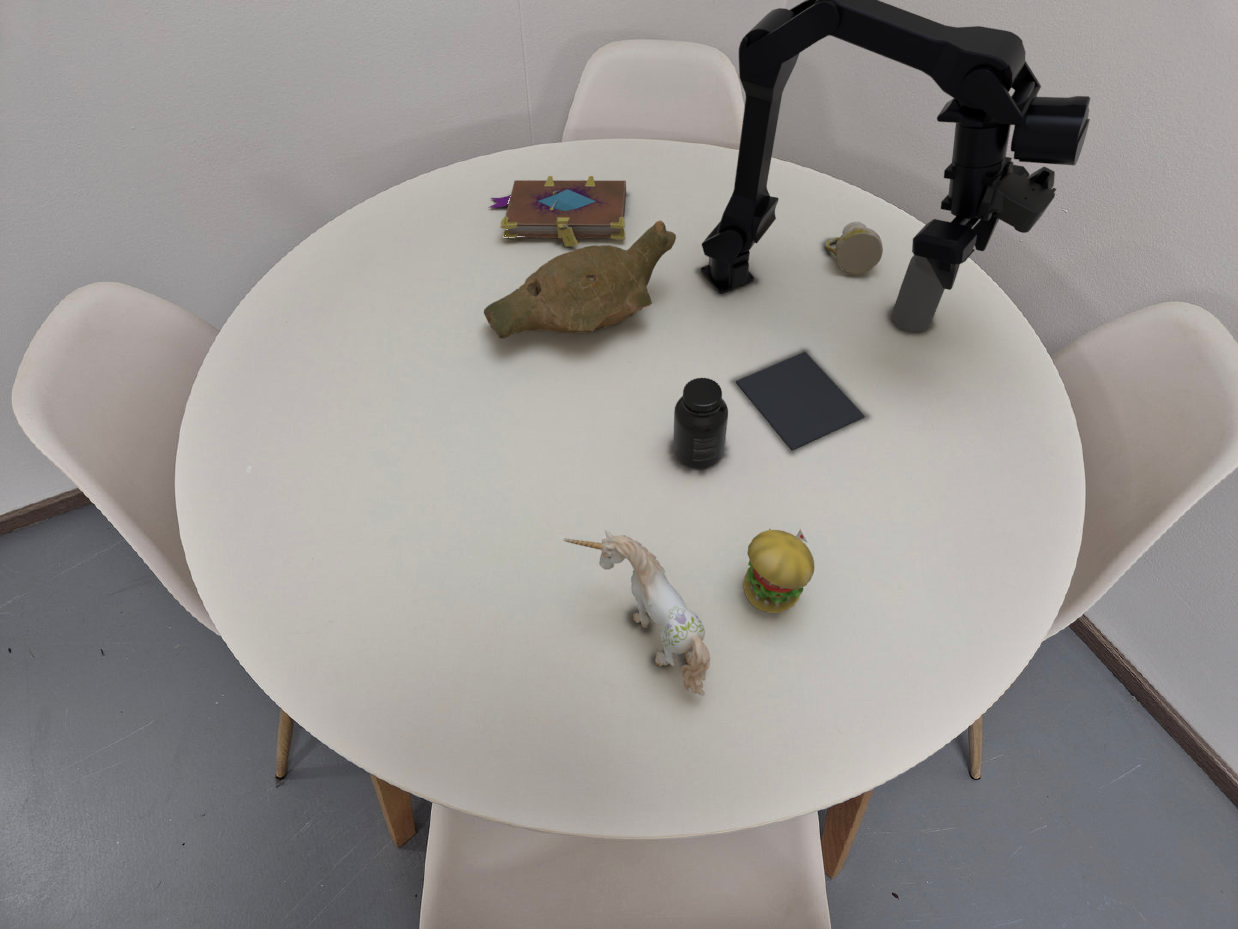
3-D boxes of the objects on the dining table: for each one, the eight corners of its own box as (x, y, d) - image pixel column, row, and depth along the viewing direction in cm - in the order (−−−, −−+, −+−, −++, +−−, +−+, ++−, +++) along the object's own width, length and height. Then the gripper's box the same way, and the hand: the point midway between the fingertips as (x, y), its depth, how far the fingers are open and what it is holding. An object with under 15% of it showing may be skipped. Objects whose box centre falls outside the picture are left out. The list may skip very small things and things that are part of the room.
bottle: (927, 306, 117) (960, 225, 105) (933, 333, 114) (967, 252, 102) (888, 305, 118) (916, 223, 106) (893, 332, 115) (922, 250, 102)
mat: (735, 382, 110) (735, 380, 110) (804, 352, 113) (805, 351, 112) (791, 450, 102) (792, 449, 102) (864, 417, 105) (864, 415, 105)
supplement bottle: (731, 440, 104) (739, 380, 94) (713, 478, 100) (719, 420, 90) (684, 424, 106) (687, 364, 96) (664, 461, 102) (666, 403, 92)
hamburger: (726, 585, 91) (736, 533, 81) (770, 552, 93) (785, 498, 84) (772, 633, 87) (787, 585, 78) (817, 597, 90) (837, 546, 80)
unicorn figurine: (614, 556, 94) (610, 497, 83) (739, 661, 86) (752, 610, 75) (572, 595, 91) (562, 539, 80) (697, 707, 83) (704, 661, 72)
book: (493, 195, 139) (488, 170, 135) (628, 196, 138) (628, 170, 134) (478, 249, 129) (473, 223, 125) (624, 250, 127) (624, 224, 124)
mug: (871, 236, 128) (898, 210, 118) (857, 290, 127) (883, 268, 117) (829, 223, 127) (853, 195, 118) (815, 276, 126) (838, 253, 116)
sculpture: (481, 313, 106) (653, 183, 106) (478, 311, 121) (629, 198, 122) (541, 392, 109) (706, 266, 110) (531, 380, 124) (677, 270, 125)
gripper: (1014, 210, 80) (993, 327, 92) (1086, 126, 88) (1059, 244, 99) (913, 191, 87) (906, 303, 98) (989, 115, 94) (973, 226, 105)
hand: (964, 268), depth 100 cm, fingers open, 9 cm apart
